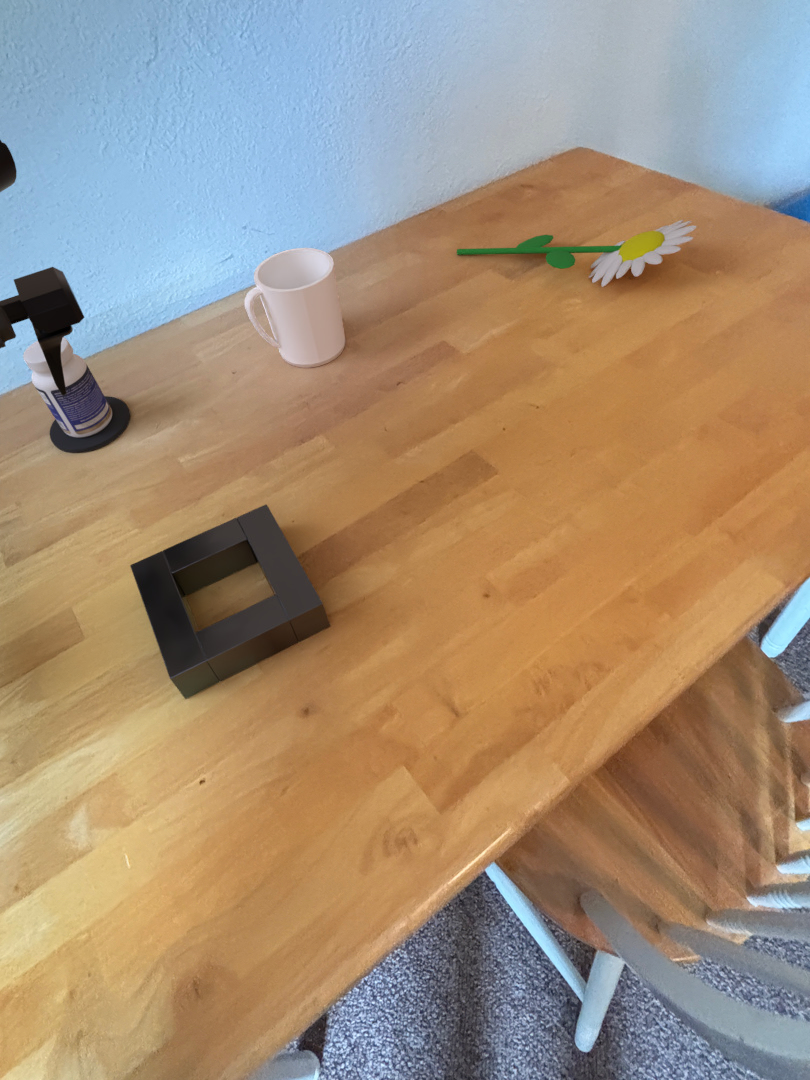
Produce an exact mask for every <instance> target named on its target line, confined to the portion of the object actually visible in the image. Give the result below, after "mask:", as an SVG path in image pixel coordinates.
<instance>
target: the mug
mask: <svg viewBox="0 0 810 1080" xmlns="http://www.w3.org/2000/svg"><path fill="white" fill-rule="evenodd" d="M336 276H337V275H336V269H335V263H334V259H333V257H332V256H331V255H330V254H329V253H328V252H326V251H324V250H321V249H318V248H313V247H298V248H297V247H296V248H291V249H285V250H283V251H279V252H277V253H274V254H272V255H271V256H268V257H267V258H265V259H264V260H262V261H261V262H260V263H259V264H258V265H257V267H256V268H255V270H254V272H253V280H254V285H255V286H256V287H253V288H251V289H250V290H248V292H247V293H246V294H245V297H244V309H245V311H246V312H245V313H246V314H247V318H248V319H249V321H250V322H251V324H252V326H253V327H254V329H255V331H256V332H257V333H258V334H259V336H260V337H261V338H262V339H263V340H264V341H266V342H267V344H269V345H270V346H271V347H272V346H273V347H275V348H277V349H278V352H279V356H280V357H281V358H282V360H283V361H284V362H285V363H286V364H288V365H290V366H293V367H295V368H300V369H301V368H302V369H309V368H315V367H316V368H317V367H322V366H323V365H327V364H329V363H330V362H333V361H334V360H336V359H337V358H338V357H339V356H340V355H342V353H343V351H344V349H345V346H346V343H347V342H346V335H345V328H344V321H343V316H342V309H341V301H340V297H339V289H338V281H337V277H336ZM258 297H259V298H260V301H261V304H262V306H263V309H264V313H265V315H266V318H267V321H268V324H269V327H270V329H271V333H272V335H273V337H272V336H271V335H269V334H268V333H267V331H265V329H264V327H263V326H262V324H261V323H260V321H259V319H258V318H257V315H256V313H255V309H254V303H255V300H256V299H257V298H258Z"/></svg>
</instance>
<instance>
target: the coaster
mask: <svg viewBox="0 0 810 1080" xmlns="http://www.w3.org/2000/svg"><path fill="white" fill-rule="evenodd" d="M104 396H105V398H106V400H107V402H108V403H109V405H110V407H111V409H112V418H111V421H110V422H109V424H108V425H107V426H106V427H105V428H104V429H102V430H101V431H99V432H98V433H96V434H93V435H91V436H87V437H72V436H69V435H67V434H66V433H65V432H64V431H63V430H62V428H61V427H60V425H59V424H58V422H57V421H56V419H55V418H54V420H53V422H52V424H51V425H50V428H49V438H50V441H51V442H52V444H53V445H54V447H56V448H57V449H58V450H60V451H62V452H65V453H69V454H81V453H83V454H84V453H89V452H93V451H95V450H98V449H101V448H103V447H105V446H107V445H109V444H111V443H112V442H114V441H115V440H117V439H118V438H119V437H120V436H122V434H123V433H124V432H125V431H126V430H127V428H128V426H129V424H130V422H131V416H132V415H131V411H130V409H129V407H128V404H126V402H124V400H122V399H120V398H118V397H116V396H115V397H114V396H106V395H104Z"/></svg>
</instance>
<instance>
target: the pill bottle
mask: <svg viewBox="0 0 810 1080" xmlns="http://www.w3.org/2000/svg"><path fill="white" fill-rule="evenodd" d="M22 358H23V361H24V362H25V364H26V366H27V367H28V369H29V370H30V371H32V373H31V382H32V384H33V386H34V388H35V389H36V391H37V392H38V395H40V397H41V399H42V401H43V402H44V404H45V405H46V406H47V409H48V410H49V411H50V413H51V414H52V416H53V418H54V420H55V419H56V421H57V422H58V424H59V425H60V427H61V428H62V430H63V431H64V432H65V433H66V434H67V435H69V436H72V437H87V436H91V435H93V434H96V433H98V432H99V431H101V430H102V429H104V428H105V427H106V426H107V425H108V424H109V422H110V421H111V418H112V409H111V407H110V405H109V403H108V402H107V400H106V398H105V396H106V395H104V392H103V391H102V389H101V388H100V386H99V383H98V382H97V379H96V378H95V377H94V375H93V373H92V371H91V369H90V367H89V366H88V363H86V361H85V359H84V358H83V357H81V356H80V355H78V354H75V353H74V349H73V347H72V345H71V343H70V341H69V340H68V339H67V338H66V337H65V336H64V337H63V338H62V342H61V362H62V369H63V375H64V381H65V387H66V393H67V394H66V395H62V394H61V393H60V391H59V389H58V388H57V386H56V384H55V382H54V379H53V377H52V374H51V372H50V369H49V367H48V364H47V362H46V359H45V357H44V354H43V352H42V349H41V347H40V344H39V342H38V340H36V341H34V342H33V343H31V344H30V345H29V346H27V348H26V349H25V350H24V352H23V354H22Z"/></svg>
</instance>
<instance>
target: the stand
mask: <svg viewBox="0 0 810 1080" xmlns="http://www.w3.org/2000/svg"><path fill="white" fill-rule="evenodd" d="M256 564H257V565H258V566H259V568H260V570H261V572H262V574H263V576H264V578H265V580H266V582H267V584H268V586H269V588H270V590H271V592H272V593H273V595H271V596H269V597H267V598H265V599H263V600H260V601H259V602H256V603H254V604H252V605H250V606H248V607H246V608H244V609H241V610H240V611H238V612H236V613H233V614H231V615H229V616H227V617H225V618H223V619H221V620H219V621H217V622H215V623H213V624H210V625H209V626H206V627H204V628H202V629H199V626H198V624H197V621H196V619H195V616H194V614H193V611H192V609H191V606H190V603H189V602H188V599H187V596H189V595H192V594H193V593H196V592H198V591H201V590H202V589H204V588H206V587H209V586H211V585H213V584H215V583H217V582H219V581H221V580H223V579H225V578H226V579H227V578H228V577H230V576H233V575H234V574H236V573H238V572H241V571H243V570H245V569H247V568H249V567H251V566H254V565H256ZM129 567H130V570H131V573H132V575H133V578H134V581H135V583H136V586H137V589H138V592H139V595H140V598H141V600H142V603H143V606H144V609H145V612H146V615H147V618H148V620H149V623H150V626H151V629H152V632H153V635H154V638H155V640H156V643H157V646H158V649H159V652H160V654H161V658H162V661H163V663H164V666H165V669H166V672H167V675H168V677H169V679H170V681H171V682H172V684H173V685H174V686H175V687H176V689H177V690H178V691H179V694H180V695H181V696H182V697H183V698H184V699H185V700H187V699H189V698H191V697H194V696H195V695H198V694H200V693H202V692H203V691H205V690H207V689H209V688H211V687H213V686H215V685H217V684H219V683H222V682H223V681H225V680H227V679H229V678H232V677H233V676H235V675H238V674H240V673H241V672H243V671H246V670H248V669H249V668H251V667H253V666H255V665H257V664H259V663H261V662H264V661H266V660H267V659H269V658H271V657H273V656H275V655H277V654H279V653H281V652H283V651H285V650H287V649H289V648H291V647H294V646H295V645H297V644H299V643H301V642H303V641H305V640H306V639H309V638H310V637H313V636H314V635H316V634H319V633H321V632H323V631H324V630H326V629H328V628H330V627H332V625H331V623H330V620H329V616H328V613H327V611H326V607H325V605H324V602H323V601H322V599H321V597H320V595H319V594H318V592H317V590H316V588H315V586H314V585H313V583H312V582H311V580H310V578H309V576H308V575H307V573H306V571H305V569H304V567H303V566H302V564H301V562H300V560H299V558H298V557H297V555H296V553H295V552H294V549H293V547H292V546H291V545H290V543H289V541H288V539H287V538H286V535H285V534H284V532H283V530H282V529H281V527H280V525H279V523H278V522H277V520H276V518H275V516H274V514H273V512H272V510H271V509H270V507H269V506H268V504H264V505H261V506H259V507H257V508H255V509H252V510H250V511H248V512H245V513H243V514H241V515H238V516H236V517H234V518H232V519H230V520H228V521H225V522H223V523H220V524H219V525H216V526H215V527H212V528H210V529H208V530H205V531H203V532H201V533H198V534H196V535H194V536H192V537H190V538H187V539H184V540H183V541H181V542H178V543H176V544H174V545H172V546H170V547H167V548H165V549H163V550H161V551H158V552H157V553H154V554H152V555H150V556H148V557H147V556H146V558H143V559H141V560H139V561H137V562H133V563H132V564H130V565H129Z"/></svg>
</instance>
